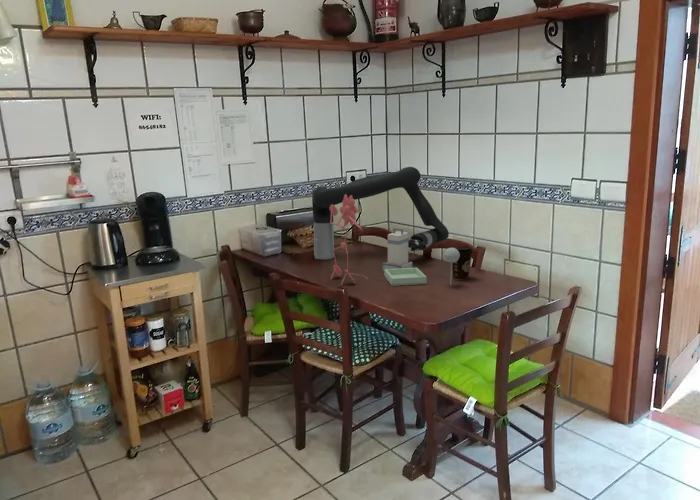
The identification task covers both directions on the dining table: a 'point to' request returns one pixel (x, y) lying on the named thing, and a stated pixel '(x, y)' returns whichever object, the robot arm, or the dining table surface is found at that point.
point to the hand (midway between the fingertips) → (403, 247)
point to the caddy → (398, 247)
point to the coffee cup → (462, 263)
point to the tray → (405, 276)
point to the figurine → (348, 216)
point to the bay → (395, 266)
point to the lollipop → (451, 257)
